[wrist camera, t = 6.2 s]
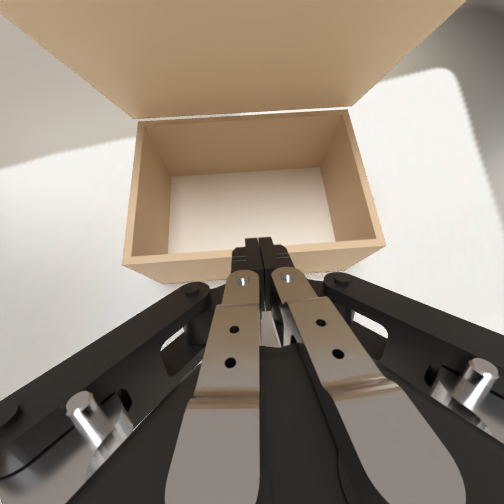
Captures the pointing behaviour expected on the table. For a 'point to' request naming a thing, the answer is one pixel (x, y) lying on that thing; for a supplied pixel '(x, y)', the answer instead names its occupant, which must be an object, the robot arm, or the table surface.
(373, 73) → the mailer lid
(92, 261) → the table surface
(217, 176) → the box
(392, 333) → the robot arm
